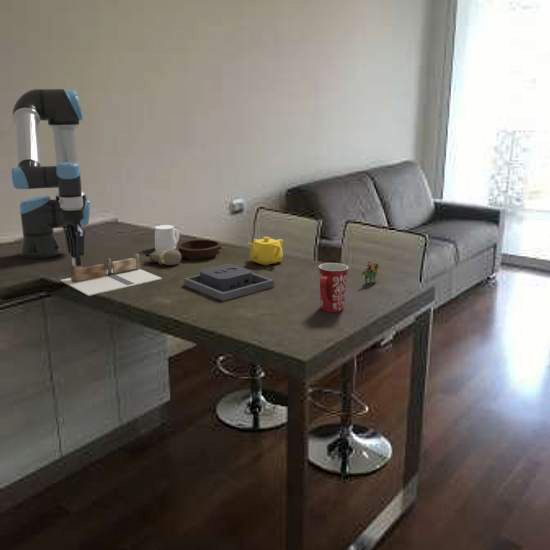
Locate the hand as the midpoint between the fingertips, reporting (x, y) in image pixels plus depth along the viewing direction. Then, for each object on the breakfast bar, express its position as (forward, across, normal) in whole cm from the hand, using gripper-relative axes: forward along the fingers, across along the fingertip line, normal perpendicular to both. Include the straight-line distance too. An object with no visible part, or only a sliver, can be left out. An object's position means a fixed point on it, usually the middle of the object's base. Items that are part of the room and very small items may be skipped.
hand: (78, 274), depth 215 cm
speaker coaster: (+2, +41, +36) cm, 54 cm away
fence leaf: (+1, +3, +3) cm, 4 cm away
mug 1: (+2, -18, +48) cm, 52 cm away
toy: (+2, +1, +35) cm, 35 cm away
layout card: (+2, +8, +9) cm, 12 cm away
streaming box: (+3, +39, +36) cm, 53 cm away
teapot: (+2, +27, +65) cm, 70 cm away
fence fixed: (+2, +3, +16) cm, 17 cm away
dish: (+3, +1, +52) cm, 52 cm away
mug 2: (+3, +80, +45) cm, 92 cm away
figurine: (+3, +71, +75) cm, 103 cm away
